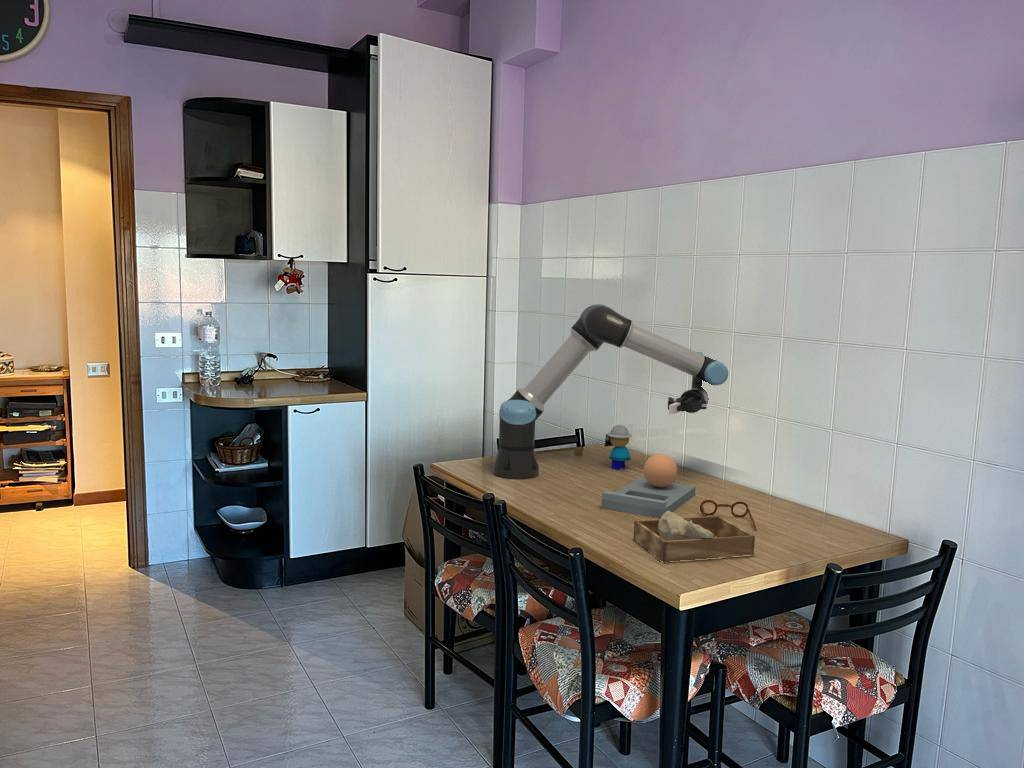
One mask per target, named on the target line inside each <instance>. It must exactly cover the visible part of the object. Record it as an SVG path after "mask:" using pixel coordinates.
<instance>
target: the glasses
mask: <svg viewBox="0 0 1024 768" xmlns="http://www.w3.org/2000/svg"><path fill="white" fill-rule="evenodd" d="M706 503H710V504H711V503H712V504H713V505H714V506H715V507H714V510H713V511H712V512H710V513H708V512H707V513H706V511H705V508H704V505H705V504H706ZM736 505H743V506H745V508H746V510H745V512H744V513H743V514H736V513H735V512H734V508H735V506H736ZM720 507H721V508H722V507H723V508H730V513H731V515H732V516H733V517H735V518H744V517H745V516H747V515H748V516H749V519H750V521H751V522H752V525H753V529H754V532H755V531H757V532H758V529H757V526H756V523H755V520H754V518H753V516H752V513H751V510H750V508H749V505H748V504H747V503H746V502H744V501H735V502H734V503H732V504H731V505H730V504H728V503H720V504H717V502H716V501H714V500H712V499H706V500H702V502H701V503H700V505H699V511H700V513H701V514H702V517H705V516H710V515H711V516H715V514H716V513H717V510H718V508H720Z"/></svg>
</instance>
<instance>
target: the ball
mask: <svg viewBox="0 0 1024 768" xmlns="http://www.w3.org/2000/svg"><path fill="white" fill-rule="evenodd" d="M677 475H678V466H677V464H676V462H675V460H674V459H673V458H671V457H670V456H668V455H667V454H664V453H657V454H653V455H651V456H649V458H647V460H646V461H645V463H644V466H643V476H644V479H646V480H647V481H648V482H649V483H650V484H651V485H653V486H655V487H660V488H661V487H666V486H669V485H670V484H672V483H675V480H676V478H677Z"/></svg>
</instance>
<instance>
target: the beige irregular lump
mask: <svg viewBox="0 0 1024 768" xmlns="http://www.w3.org/2000/svg"><path fill="white" fill-rule="evenodd" d="M683 518H684V517H682V516H680V515H677V514H676V513H675V512H670V511H666V512H665V513H664V514H663V515H662V516H661V518H659V519H660V520H659V523H658V532H659V535H660V537H661V538H662V539H664V540H665V541H674V540H689V539H704V538H714V537H715V536H714V534H713V533H712V532H710V531H709V530H707V529H704V528H702V527H701V526H700V525H696V524H693V523H692V520H690V519H687V520H690V522H689V521H687V520H685V519H683Z"/></svg>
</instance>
